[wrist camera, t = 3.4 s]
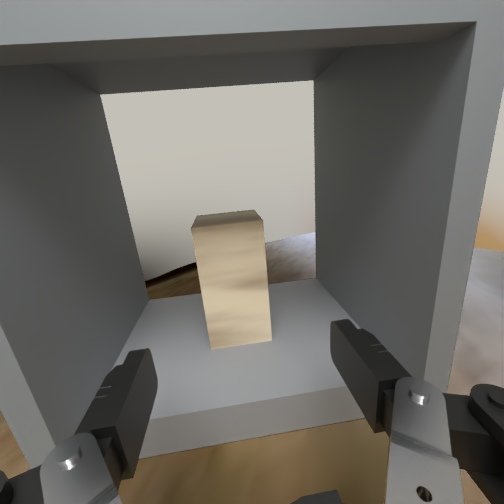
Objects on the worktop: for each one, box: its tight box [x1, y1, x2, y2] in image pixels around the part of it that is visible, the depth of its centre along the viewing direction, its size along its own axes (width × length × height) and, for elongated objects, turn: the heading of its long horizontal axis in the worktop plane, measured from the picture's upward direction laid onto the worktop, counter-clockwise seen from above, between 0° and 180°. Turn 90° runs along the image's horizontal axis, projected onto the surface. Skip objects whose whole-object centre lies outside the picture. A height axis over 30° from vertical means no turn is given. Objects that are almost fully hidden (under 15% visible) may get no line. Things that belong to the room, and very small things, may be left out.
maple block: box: [191, 210, 272, 350], centre depth 22 cm, size 5×5×10 cm
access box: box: [0, 0, 504, 469], centre depth 20 cm, size 18×23×26 cm
